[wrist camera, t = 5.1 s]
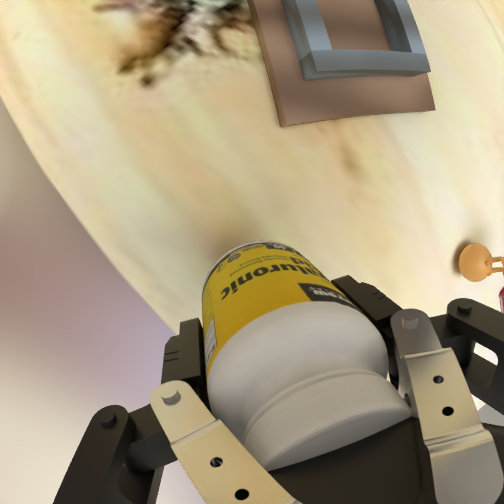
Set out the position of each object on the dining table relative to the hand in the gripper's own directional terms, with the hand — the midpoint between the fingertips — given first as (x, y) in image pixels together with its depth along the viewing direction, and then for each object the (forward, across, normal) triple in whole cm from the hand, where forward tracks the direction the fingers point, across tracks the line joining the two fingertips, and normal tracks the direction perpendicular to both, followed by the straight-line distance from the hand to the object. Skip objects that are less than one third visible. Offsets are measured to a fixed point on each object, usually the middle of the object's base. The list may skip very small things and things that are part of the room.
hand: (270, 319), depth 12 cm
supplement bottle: (+3, 0, 0) cm, 3 cm away
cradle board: (+12, -12, -16) cm, 23 cm away
